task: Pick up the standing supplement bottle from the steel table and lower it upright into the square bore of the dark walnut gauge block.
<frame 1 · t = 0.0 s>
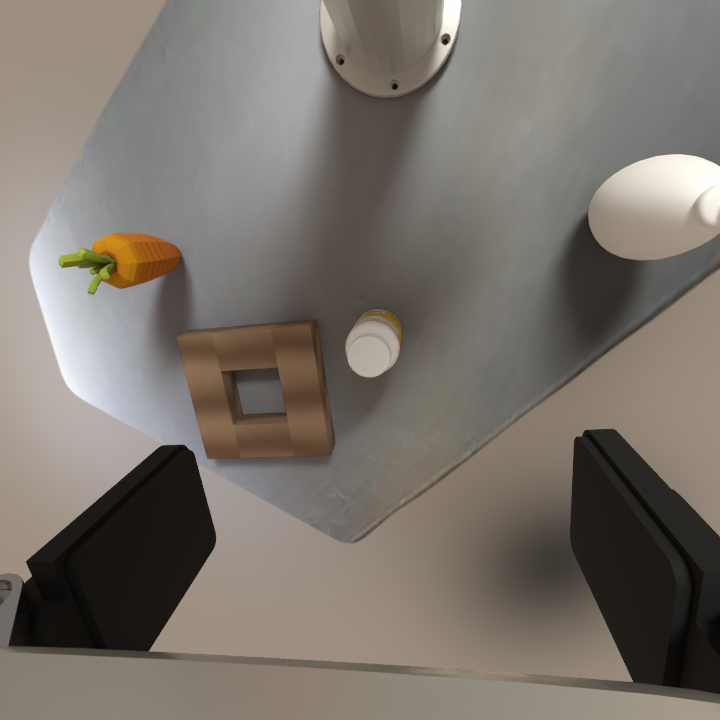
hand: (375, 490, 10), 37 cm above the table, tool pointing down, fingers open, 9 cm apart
bore block: (263, 387, 51), on the table
supplement bottle: (378, 330, 47), on the table
carrot: (179, 253, 47), on the table
white air blower bulb: (613, 211, 40), on the table
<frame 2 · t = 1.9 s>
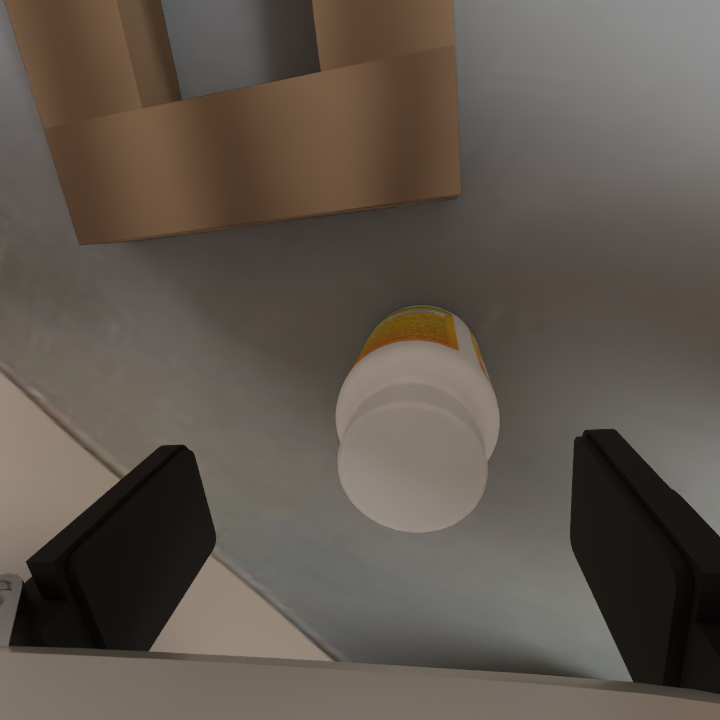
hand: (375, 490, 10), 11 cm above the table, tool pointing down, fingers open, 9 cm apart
bore block: (244, 14, 17), on the table
supplement bottle: (421, 357, 20), on the table
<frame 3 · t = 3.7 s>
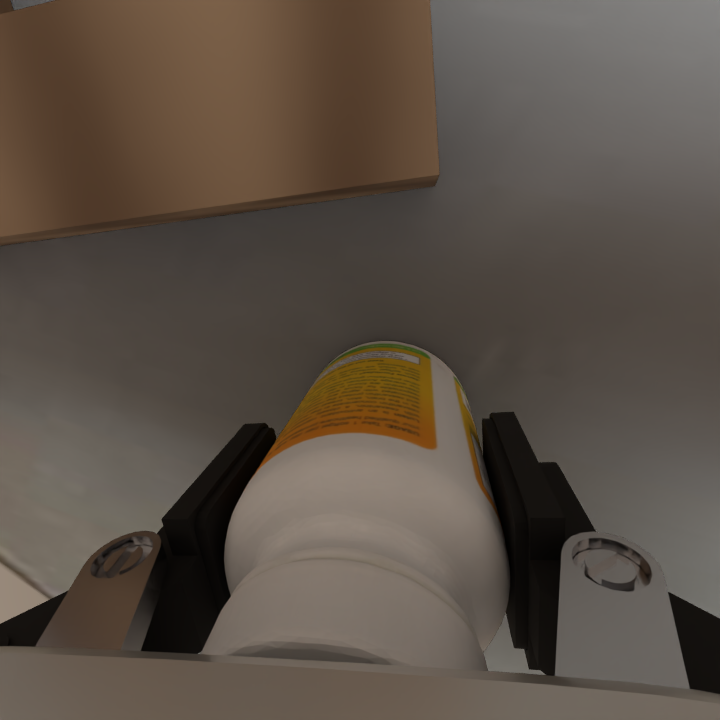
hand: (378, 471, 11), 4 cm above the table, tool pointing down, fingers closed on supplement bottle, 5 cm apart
supplement bottle: (388, 410, 14), on the table, touching gripper
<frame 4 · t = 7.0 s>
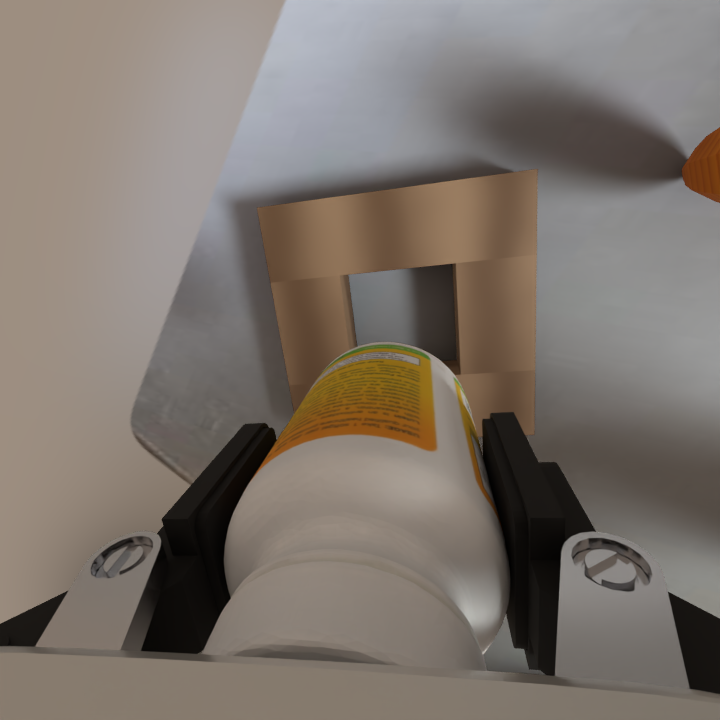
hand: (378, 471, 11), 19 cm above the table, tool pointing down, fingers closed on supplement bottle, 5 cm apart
bore block: (403, 315, 29), on the table
supplement bottle: (388, 411, 14), point 15 cm above the table, touching gripper
carrot: (685, 171, 24), on the table
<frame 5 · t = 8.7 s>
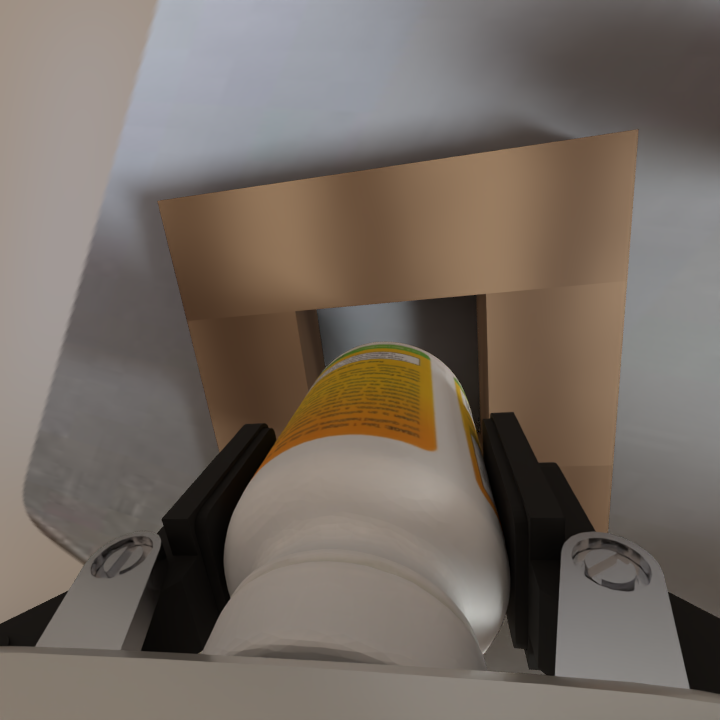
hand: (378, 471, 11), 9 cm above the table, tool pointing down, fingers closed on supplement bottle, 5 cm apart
bore block: (399, 366, 19), on the table
supplement bottle: (388, 411, 14), point 5 cm above the table, touching gripper
when the fingers open (5 cm above the table, at t = 10.3 s): supplement bottle drops 1 cm, resting in bore block.
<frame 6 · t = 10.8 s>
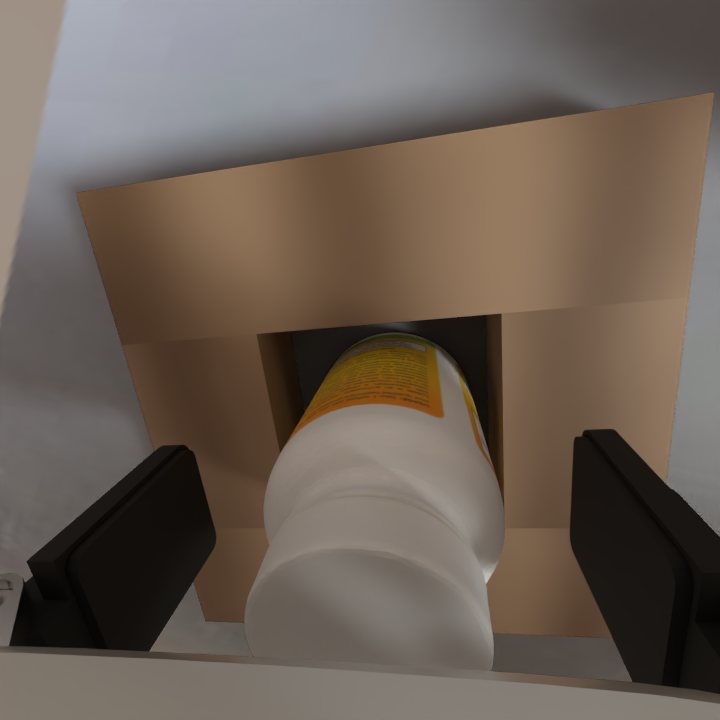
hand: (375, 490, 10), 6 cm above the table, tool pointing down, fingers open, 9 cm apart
bore block: (391, 396, 15), on the table
supplement bottle: (396, 396, 16), resting in bore block
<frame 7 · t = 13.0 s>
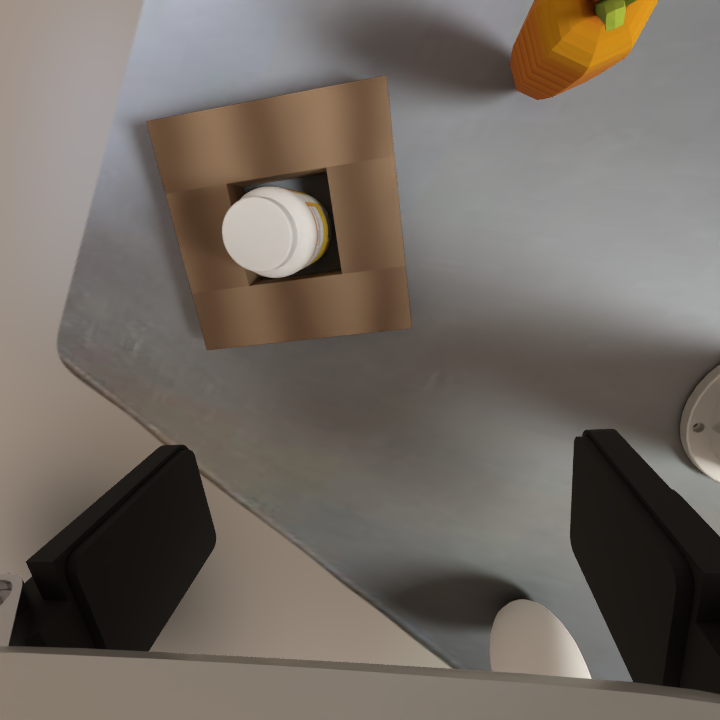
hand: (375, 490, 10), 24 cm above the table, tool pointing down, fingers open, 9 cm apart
bore block: (295, 228, 31), on the table
supplement bottle: (298, 230, 32), resting in bore block
carrot: (525, 82, 27), on the table
white air blower bulb: (519, 605, 42), on the table
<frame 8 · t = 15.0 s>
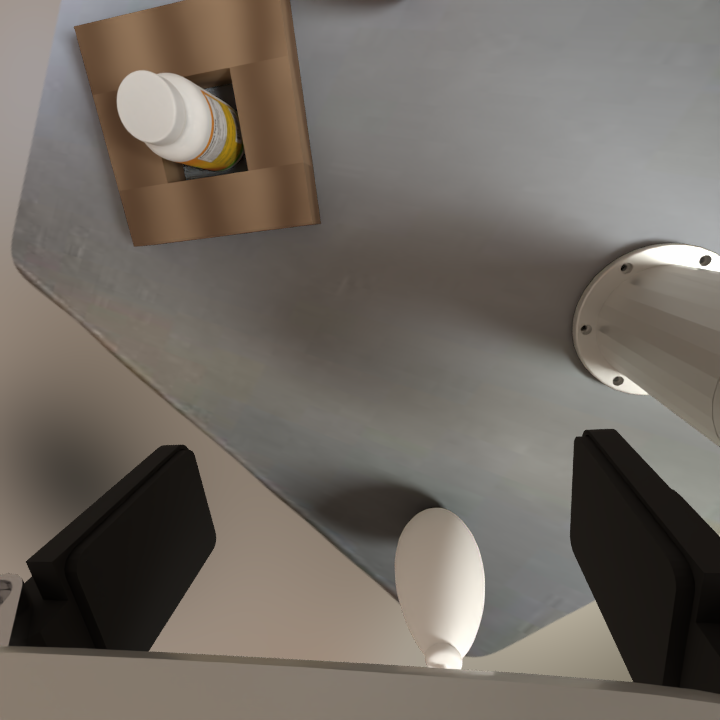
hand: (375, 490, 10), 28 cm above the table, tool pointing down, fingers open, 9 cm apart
bore block: (215, 136, 35), on the table
supplement bottle: (218, 137, 35), resting in bore block
white air blower bulb: (436, 518, 44), on the table
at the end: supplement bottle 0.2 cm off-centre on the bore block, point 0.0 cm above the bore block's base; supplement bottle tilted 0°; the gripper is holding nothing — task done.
